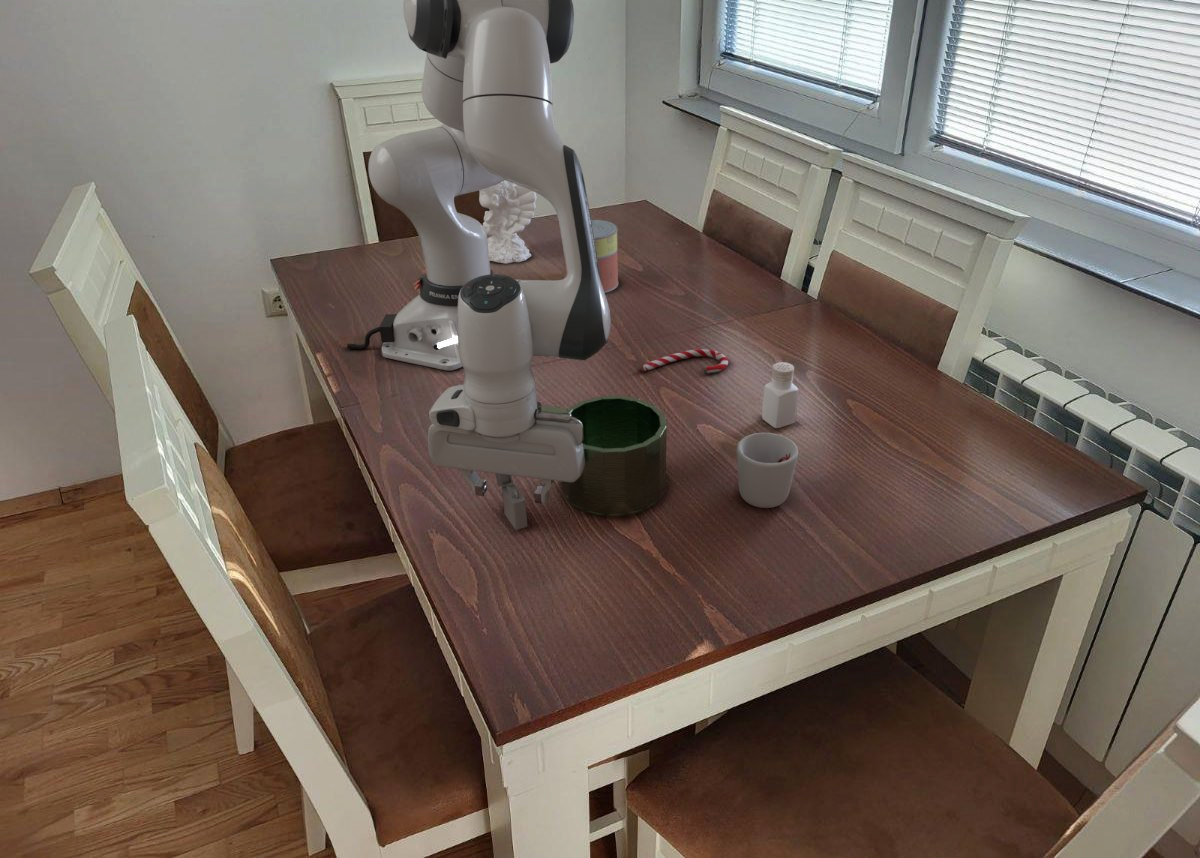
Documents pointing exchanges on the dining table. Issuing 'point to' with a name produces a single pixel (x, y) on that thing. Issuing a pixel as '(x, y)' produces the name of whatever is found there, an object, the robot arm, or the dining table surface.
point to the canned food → (605, 253)
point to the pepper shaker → (780, 397)
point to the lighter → (512, 501)
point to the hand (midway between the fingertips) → (510, 497)
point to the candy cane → (688, 355)
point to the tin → (619, 457)
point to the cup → (765, 468)
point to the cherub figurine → (507, 220)
